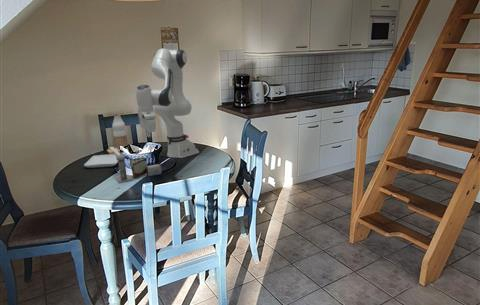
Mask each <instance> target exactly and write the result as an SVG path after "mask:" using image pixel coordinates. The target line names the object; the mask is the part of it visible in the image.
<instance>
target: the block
mask: <svg viewBox="0 0 480 305" xmlns="http://www.w3.org/2000/svg"><path fill="white" fill-rule="evenodd" d="M146 171H147V174H146V175H147V176H148V177H152V176H156V175H162V165H161V164H160V163H157V164H151V165H147V166H146Z"/></svg>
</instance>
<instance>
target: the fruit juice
mask: <svg viewBox="0 0 480 305" xmlns="http://www.w3.org/2000/svg"><path fill="white" fill-rule="evenodd" d="M121 115H122V114H121V113H119V112H118V113H117V112H116V113H113V117H114V118H113V121H112V126H111V127H112V128H111V129H112V130H113V131H112V135H113V142H114V148H117V149H119V147H120V146H127V145H128V146H129V143H128V136H127V130H126V124H125V122H124V120H123V119H122V117H121ZM119 150H120V149H119Z"/></svg>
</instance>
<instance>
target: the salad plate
mask: <svg viewBox="0 0 480 305" xmlns="http://www.w3.org/2000/svg"><path fill="white" fill-rule="evenodd" d="M117 164H118V160H117V159H116V156H115V155H114V154H111V155H110V154H109V153H108V154H100V155H93V156H91V157H90V158H89V159H88V160H87V161H86V162H85V163H84V164H83V166H84V167H85V168H90V169H91V168H96V169H97V168H109V167H110V168H111V167H113V166H114V167H115V166H116V165H117Z"/></svg>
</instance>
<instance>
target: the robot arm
mask: <svg viewBox="0 0 480 305" xmlns="http://www.w3.org/2000/svg"><path fill="white" fill-rule="evenodd" d="M187 58H188V56H187V54H186V52H185V50H183V49H179V48H178V49H167V48H160V49H158V50H157V51H156V52H155V53H154V55H153V59H152V62H151V66H150V69H151V70H150V71H151V73H153V75H154V76H156V77H157V78H159V79H162V80H164V84H163V88H161V89H159V88H158V89H157V88H156V89H155V88H154V89H152V88H151V87H150V85H147V84H141V85H138V86H137V87H136V90H135V91H136V92H135V97H136V103H137V115H138V118H139V125H140V127H141V128H142V129H144V131H145V136H146V137H148V138H151V136H152V135H151V134H152V133H154V132H156V130H157V129H156V128H157V127H156V126H157V125H156V118H157V116H159V117H160V118H161V119H162V120H163V122H164V124H165V128H166V134H167V135H166V140H167V141H166V142H167V153H166V156H167V157H169V158H179V159H183V158H186V157H190V156H193V155H197V154H199V153H200V150H199V149H198V148H196V145H195V143H193V142H192V141H190V140H189V135H188V134H185V133H184V126H183V123H182V122H181V121H180V120H178V119H176V117H178V116H179V117H183V116H188V115H190V113H191V111H192V104H191V103H190V101H189V100H188V99H187V98H186V96H184V92H183V83H184V82H183V81H184V80H183V78H184V76H183V75H184V74H183V68H184V66H185V65H186V63H187V60H188V59H187ZM156 114H157V115H156Z"/></svg>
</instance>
